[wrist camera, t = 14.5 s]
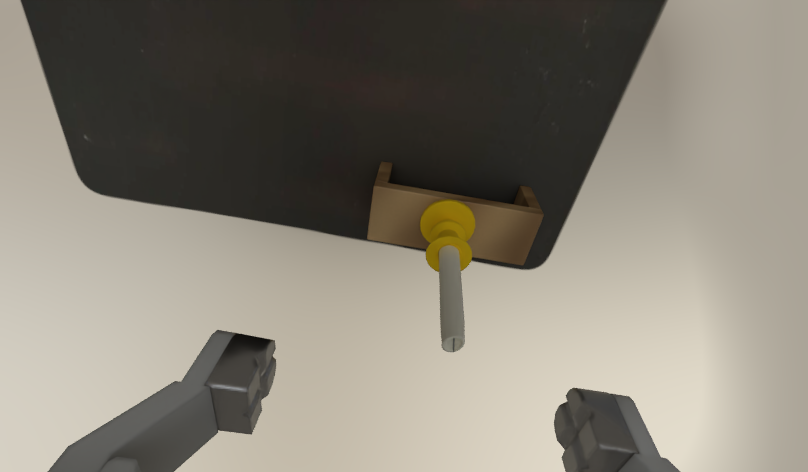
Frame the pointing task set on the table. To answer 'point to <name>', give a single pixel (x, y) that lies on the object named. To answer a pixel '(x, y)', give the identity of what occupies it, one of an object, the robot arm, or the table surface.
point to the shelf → (494, 221)
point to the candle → (449, 262)
